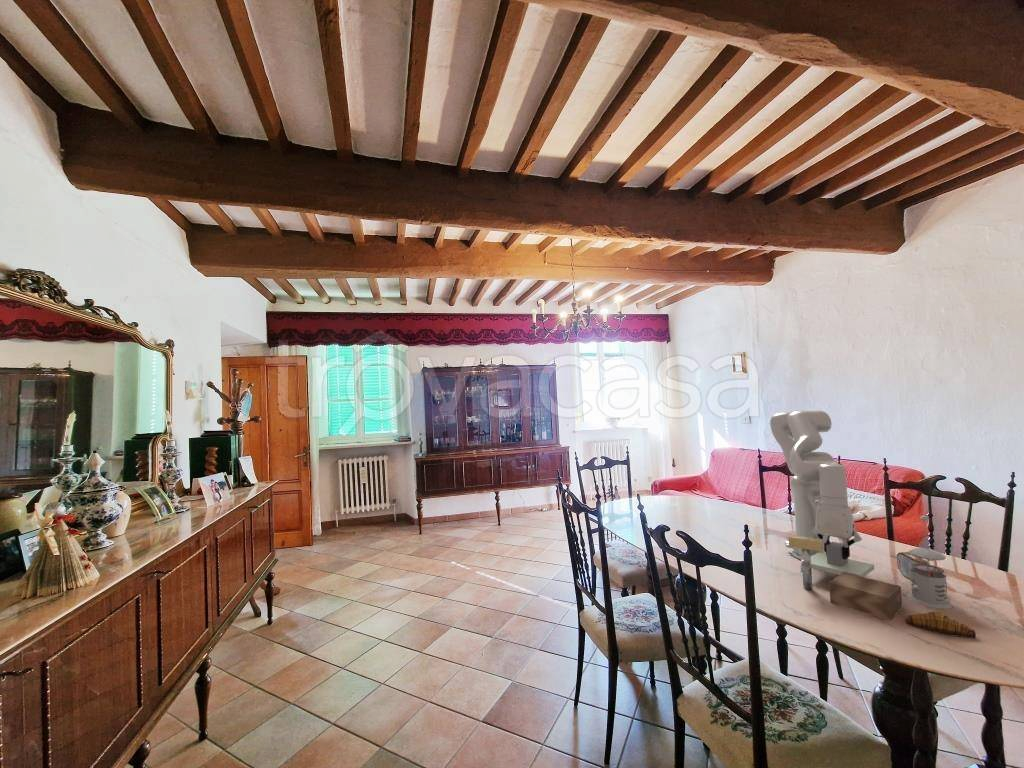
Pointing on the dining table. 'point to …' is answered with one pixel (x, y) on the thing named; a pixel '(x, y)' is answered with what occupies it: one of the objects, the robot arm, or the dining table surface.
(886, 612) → the housing
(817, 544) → the key
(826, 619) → the dining table surface
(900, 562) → the tin
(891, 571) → the dining table surface
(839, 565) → the cover
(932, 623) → the croissant
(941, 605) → the french press
